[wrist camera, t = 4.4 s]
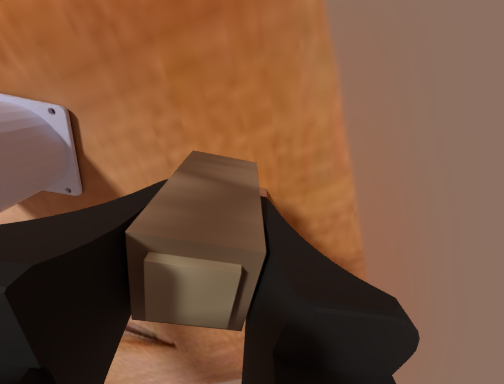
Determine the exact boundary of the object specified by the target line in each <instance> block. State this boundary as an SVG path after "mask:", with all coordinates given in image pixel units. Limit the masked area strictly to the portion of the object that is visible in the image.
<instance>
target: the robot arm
mask: <svg viewBox="0 0 504 384" xmlns="http://www.w3.org/2000/svg"><path fill="white" fill-rule="evenodd" d="M52 109H54V110H55V114H54V113H53V111H52ZM168 180H169V179H166V180H163V181H161V182H158V183H156V184H153V185H151V186H149V187H146V188H144V189H142V190H139V191H137V192H134V193H132V194H129V195H126V196H124V197H121V198H118V199H115V200H113V201H110V202H107V203H103V204H100V205H97V206H93V207H89V208H86V209H82V210H78V211H73V212H69V213H64V214H59V215H55V216H50V217H45V218H40V219H34V220H28V221H22V222H15V223H8V224H1V225H0V384H104V382H105V379H106V376H107V374H108V371H109V368H110V366H111V363H112V361H113V358H114V355H115V353H116V350H117V348H118V345H119V343H120V340H121V338H122V335H123V333H124V330H125V328H126V326H127V323H128V321H129V318H130V316H131V301H130V288H129V275H128V262H127V249H126V236H125V231H126V230H127V229H128V228H129V226H130V225H131V224H132V223H133V222H134V220H135V219H136V218H137V217H138V216H139V214H140V213H141V212H142V211H143V210H144V208H145V207H146V206H147V205H148V204H149V202H150V201H151V200H152V199H153V198H154V196H155V195H156V194H157V193H158V192H159V190H160V189H161V188H162V187H163V186H164V184H165V183H166V182H167V181H168ZM69 189H71V191H70V190H69ZM42 190H43V191H49V192H55V193H61V194H67V195H73V196H78V195H80V194H82V185H81V180H80V174H79V168H78V162H77V157H76V151H75V145H74V140H73V134H72V128H71V123H70V117H69V113H68V111H67V109H66V108H65V107H63V106H60V105H55V104H50V103H45V102H40V101H35V100H30V99H25V98H21V97H16V96H11V95H6V94H1V93H0V212H2V211H4V210H6V209H8V208H10V207H12V206H14V205H16V204H18V203H20V202H21V201H23V200H25V199H27V198H29V197H31V196H33V195H35V194H37V193H39V192H41V191H42ZM260 199H261V208H262V218H263V227H264V236H265V246H266V255H265V258H264V261H263V264H262V268H261V271H260V274H259V277H258V280H257V283H256V287H255V290H254V293H253V296H252V299H251V303H250V306H249V309H248V312H247V315H246V324H245V341H244V357H243V371H242V384H396V383H395V381H394V379H393V377H392V375H393V374H394V373H395V372H396V371H397V370H398V369H399V367H401V366H402V365H403V364H404V363H405V362H406V361H407V360H408V359H409V358H410V357H411V356H412V355H413V353H414V352H415V351H416V349H417V346H418V343H419V339H420V338H419V333H418V330H417V329H416V327H415V326H414V325H413V323H412V322H411V320H410V318H409V317H408V315H407V314H406V313H405V311H404V310H403V308H402V307H401V305H400V304H399V302H398V301H397V299H396V298H395V297H393V296H391V295H389V294H387V293H385V292H383V291H381V290H380V289H377V288H376V287H374V286H372V285H370V284H368V283H366V282H364V281H363V280H361V279H359V278H358V277H356V276H354V275H353V274H351V273H349V272H348V271H346V270H344V269H343V268H341V267H340V266H338V265H337V264H335V263H334V262H332V261H331V260H330V259H328V258H327V257H325V256H324V255H323V254H321V253H320V252H319V251H317V250H316V249H315V248H314V247H312V246H311V245H310V244H309V243H308V242H307V241H305V240H304V239H303V238H302V237H301V236H300V235H299V234H298V233H297V232H296V231H295V230H294V229H293V228H292V227H291V226H290V225H289V224H288V223H287V222H286V221H285V219H284V218H283V217H282V216H281V215H280V214H279V212H278V211H277V210H276V209H275V207H274V206H273V205H272V203H271V202H270V201H269V200H268V198H267V197H264V196H260Z"/></svg>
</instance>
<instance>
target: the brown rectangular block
mask: <svg viewBox="0 0 504 384" xmlns="http://www.w3.org/2000/svg"><path fill="white" fill-rule="evenodd" d="M125 236H126V249H127V262H128V275H129V288H130V301H131V314H132V320H141V321H150V322H160V323H169V324H178V325H188V326H197V327H207V328H216V329H225V330H235V331H242V328H243V325H244V322H245V318H246V315H247V312H248V309H249V306H250V303H251V299H252V296H253V293H254V290H255V287H256V283H257V280H258V277H259V274H260V271H261V268H262V264H263V261H264V258H265V255H266V246H265V236H264V227H263V218H262V208H261V199H260V190H259V180H258V171H257V163H255V162H250V161H245V160H240V159H234V158H229V157H224V156H219V155H214V154H209V153H204V152H199V151H192V152H191V153H190V154H189V156H188V157H187V158H186V159H185V160H184V162H183V163H182V164H181V165H180V166H179V168H178V169H177V170H176V171H175V172H174V174H173V175H172V176H171V177H170V178H169V180H168V181H167V182H166V183H165V184H164V186H163V187H162V188H161V189H160V190H159V192H158V193H157V194H156V195H155V196H154V198H153V199H152V200H151V201H150V202H149V204H148V205H147V206H146V207H145V208H144V210H143V211H142V212H141V213H140V214H139V216H138V217H137V218H136V219H135V220H134V222H133V223H132V224H131V225H130V226H129V228H128V229H127V230H126V231H125Z"/></svg>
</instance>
